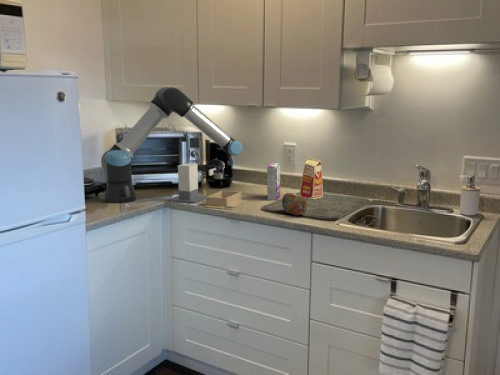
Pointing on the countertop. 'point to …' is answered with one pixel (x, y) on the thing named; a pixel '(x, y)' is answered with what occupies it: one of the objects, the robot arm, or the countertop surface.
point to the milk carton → (312, 180)
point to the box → (188, 181)
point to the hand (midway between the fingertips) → (197, 172)
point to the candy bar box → (273, 181)
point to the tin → (294, 203)
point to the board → (192, 201)
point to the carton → (224, 199)
